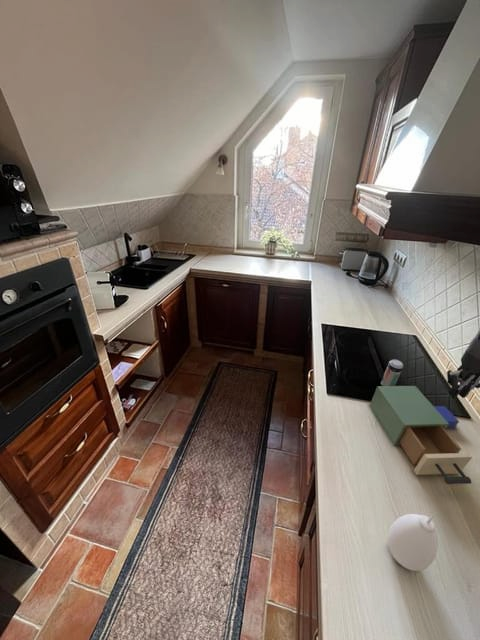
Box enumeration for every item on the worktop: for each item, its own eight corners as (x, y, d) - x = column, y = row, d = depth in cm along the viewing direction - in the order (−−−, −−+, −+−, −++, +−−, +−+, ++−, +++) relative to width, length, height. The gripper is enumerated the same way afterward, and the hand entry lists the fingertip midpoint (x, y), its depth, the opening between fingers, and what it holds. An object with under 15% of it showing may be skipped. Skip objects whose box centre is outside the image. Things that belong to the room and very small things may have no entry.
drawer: (474, 492, 67) (489, 476, 63) (428, 494, 67) (440, 477, 63) (424, 428, 84) (434, 412, 80) (387, 429, 84) (395, 413, 80)
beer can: (383, 379, 106) (393, 357, 100) (395, 386, 103) (406, 363, 97) (378, 384, 103) (387, 361, 97) (390, 391, 100) (401, 368, 94)
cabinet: (435, 444, 80) (449, 423, 76) (393, 445, 80) (404, 424, 75) (405, 405, 94) (415, 385, 89) (369, 405, 93) (377, 386, 89)
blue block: (428, 412, 91) (432, 406, 89) (440, 412, 91) (444, 406, 90) (442, 428, 86) (446, 421, 84) (454, 428, 86) (459, 421, 84)
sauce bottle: (416, 590, 52) (455, 554, 43) (376, 555, 56) (404, 516, 47) (424, 554, 57) (461, 515, 48) (387, 525, 61) (414, 484, 52)
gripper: (471, 361, 70) (444, 405, 79) (518, 361, 71) (487, 404, 80) (450, 345, 77) (428, 387, 85) (494, 345, 77) (467, 387, 86)
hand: (456, 395), depth 82 cm, fingers closed
